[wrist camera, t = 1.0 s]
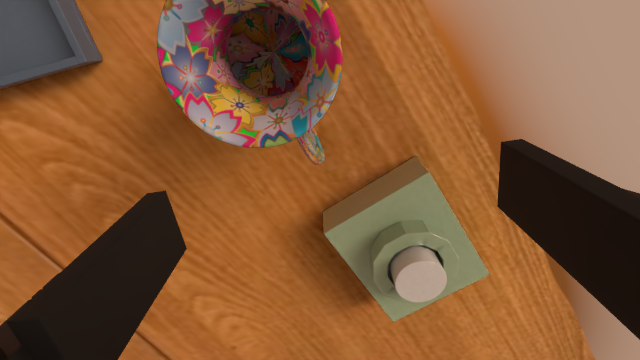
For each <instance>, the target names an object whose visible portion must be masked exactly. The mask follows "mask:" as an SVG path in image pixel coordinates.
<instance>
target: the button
mask: <svg viewBox="0 0 640 360" xmlns="http://www.w3.org/2000/svg"><path fill="white" fill-rule="evenodd" d="M390 272H391V275H392V278H393V282H394V285H395V288H396V291H397V292H398V294H399V295H400V296H401V297H402V298H404V299H405V300H407V301H410V302H426V301H429V300H432V299H434V298H435V297H437V296H438V295H439V294H440V293H441V292H442V291H443V290H444V288H445V286H446V283H447V275H446V272H445V271H444V269H443V267H442V265H441V263H440V261H439V260H438V258H437V256H436V254H435V253H434V252H433V251H432V250H430V249H428V248H426V247H422V246H411V247H408V248H405V249H403V250H401V251H400V252H398V253H397V254H396V255H395V256H394V258H393V259H392V261H391V265H390Z"/></svg>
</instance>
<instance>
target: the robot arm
mask: <svg viewBox="0 0 640 360" xmlns="http://www.w3.org/2000/svg"><path fill="white" fill-rule="evenodd" d="M500 155H501V156H500V172H499V189H498V207H499V208H500V209H501V210H502V211H503V212H504V213H505V214H506V215H507V216H508V217H509V218H510V219H511V220H513V221H514V222H515V223H516V224H517V225H518V226H519V227H520V228H521V229H522V230H523V231H524V232H525V233H526V234H527V235H529V236H530V237H531V238H532V239H533V240H534V241H535V242H536V243H537V244H538V245H539V246H540V247H541V248H542V249H543V250H545V251H546V252H547V253H548V254H549V255H550V256H551V257H552V258H553V259H554V260H555V261H556V262H557V263H558V264H559V265H561V266H562V267H563V268H564V269H565V270H566V271H567V272H568V273H569V274H570V275H571V276H572V277H573V278H575V279H576V280H577V281H578V282H579V283H580V284H581V285H582V286H583V287H584V288H585V289H586V290H587V291H588V292H589V293H591V294H592V295H593V296H594V297H595V298H596V299H597V300H598V301H599V302H600V303H601V304H602V305H603V306H604V307H605V308H606V309H608V310H609V311H610V312H611V313H612V314H613V315H614V316H615V317H616V318H617V319H618V320H619V321H620V322H621V323H622V324H624V325H625V326H626V327H627V328H628V329H629V330H630V331H631V332H632V333H633V334H634V335H636V337H637V338H639V339H640V194H639V193H636V192H632V191H628V190H625V189H622V188H620V187H618V186H616V185H613V184H612V183H610V182H608V181H605V180H604V179H601V178H599V177H597V176H595V175H593V174H591V173H589V172H587V171H585V170H583V169H581V168H579V167H577V166H575V165H573V164H571V163H569V162H567V161H565V160H563V159H561V158H559V157H557V156H555V155H553V154H551V153H549V152H547V151H545V150H543V149H541V148H539V147H537V146H535V145H533V144H531V143H529V142H527V141H525V140H523V139H519V140H513V141H505V142H501V154H500ZM186 249H187V248H186V245H185V243H184V240H183V237H182V234H181V232H180V229H179V226H178V223H177V221H176V218H175V215H174V212H173V209H172V207H171V204H170V201H169V198H168V196H167V193H166V191H161V192H154V193H147V194H146V195H145V196H144V197H143V198H142V199H141V200H140V201H138V202H137V203H136V204H135V205H134V206H133V207H132V208H131V209H130V210H129V211H128V212H126V213H125V214H124V215H123V216H122V217H121V218H120V219H119V220H118V221H117V222H115V223H114V224H113V225H112V226H111V227H110V228H109V229H108V230H107V231H106V232H104V233H103V234H102V235H101V236H100V237H99V238H98V239H97V240H96V241H95V242H94V243H92V244H91V245H90V246H89V247H88V248H87V249H86V250H85V251H84V252H83V253H81V254H80V255H79V256H78V257H77V258H76V259H75V260H74V261H73V262H72V263H71V264H69V265H68V266H67V267H66V268H65V269H64V270H63V271H62V272H60V273H59V274H57V275H56V276H55V277H54V278H53V279H51V280H50V281H49V282H48V283H47V284H46V285H45V286H44V287H43V289H42V290H39V291H38V292H37V293H36V294H35V295H34V296H33V297H32V299H31V300H28V301H27V302H26V303H25V304H24V305H23V306H22V307H21V308H19V309H18V310H17V311H16V312H15V313H14V314H13V315H12V316H11V317H10V318H8V319H7V320H6V321H5V322H4V323H3V324H2V325H1V326H0V360H118V358H119V357H120V355H121V353H122V352H123V350H124V349H125V347H126V345H127V344H128V342H129V340H130V339H131V337H132V336H133V334H134V332H135V331H136V329H137V328H138V326H139V324H140V323H141V321H142V320H143V318H144V316H145V315H146V313H147V312H148V310H149V308H150V307H151V305H152V304H153V302H154V300H155V299H156V297H157V295H158V294H159V292H160V291H161V289H162V287H163V286H164V284H165V283H166V281H167V279H168V278H169V276H170V275H171V273H172V271H173V270H174V268H175V267H176V265H177V263H178V262H179V260H180V259H181V257H182V255H183V254H184V252H185V250H186Z"/></svg>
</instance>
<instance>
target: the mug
mask: <svg viewBox="0 0 640 360" xmlns="http://www.w3.org/2000/svg"><path fill="white" fill-rule="evenodd" d="M157 52H158V59H159V65H160V69H161V73H162V76H163V79H164V81H165V84H166V86H167V88H168V90H169V92H170V94H171V96H172V98H173V99H174V101H175V102H176V104H177V105H178V107H179V108H180V109H181V110H182V112H183V113H184V114H185V115H186V116H187V117H188V118H189V119H190V120H191V121H192V122H193V123H194V124H195V125H196V126H198V127H199V128H200V129H202V130H203V131H204V132H206V133H208V134H209V135H211V136H213V137H215V138H217V139H218V140H221V141H223V142H226V143H229V144H232V145H236V146H240V147H247V148H268V147H274V146H278V145H282V144H285V143H287V142H290V141H292V140H294V139H296V138H297V140H298V142H299V144H300V146H301V147H302V149H303V151H304V152H305V154H306V155H307V157H308V158H309V159H310V161H311V162H312V163H313V164H315V165H318V164H321V163H322V162H324V160H325V154H324V151H323V148H322V145H321V143H320V140H319V138H318V135H317V133H316V131H315V129H314V125H315V124H316V123H317V122H318V121H319V120H320V119H321V118H322V117H323V115H324V114H325V113H326V111H327V110H328V108H329V106H330V105H331V103H332V101H333V99H334V97H335V94H336V92H337V89H338V86H339V82H340V77H341V71H342V44H341V38H340V33H339V29H338V26H337V23H336V20H335V17H334V15H333V13H332V11H331V9H330V7H329V5H328V3H327V1H326V0H166V2H165V4H164V7H163V10H162V13H161V16H160V20H159V25H158V32H157Z"/></svg>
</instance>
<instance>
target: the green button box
mask: <svg viewBox="0 0 640 360" xmlns="http://www.w3.org/2000/svg"><path fill="white" fill-rule="evenodd" d="M323 227H324V235H325V236H326V237H327V239H328V240H329V241H330V242H331V244H332V245H333V246H334V248H335V249H336V250H337V251H338V253H339V254H340V255H341V257H342V258H343V259H344V260H345V262H346V263H347V264H348V265H349V267H350V268H351V269H352V271H353V272H354V273H355V274H356V276H357V277H358V278H359V279H360V281H361V282H362V283H363V285H364V286H365V287H366V288H367V290H368V291H369V292H370V294H371V295H372V296H373V297H374V299H375V300H376V301H377V302H378V304H379V305H380V306H381V308H382V309H383V310H384V311H385V313H386V314H387V315H388V316H389V318H390V319H391V320H392V322H395V321H397V320H399V319H401V318H403V317H405V316H407V315H409V314H411V313H413V312H415V311H417V310H419V309H421V308H423V307H425V306H427V305H429V304H431V303H433V302H435V301H437V300H439V299H442V298H444V297H446V296H448V295H450V294H452V293H454V292H456V291H458V290H460V289H462V288H464V287H466V286H468V285H470V284H472V283H474V282H476V281H478V280H480V279H482V278H484V277H486V276H488V275H490V273H489V272H488V270H487V268H486V266H485V265H484V263H483V261H482V260H481V258H480V256H479V255H478V253H477V251H476V250H475V248H474V246H473V245H472V243H471V241H470V239H469V238H468V236H467V234H466V233H465V231H464V229H463V228H462V226H461V224H460V223H459V221H458V219H457V218H456V216H455V214H454V212H453V211H452V209H451V207H450V206H449V204H448V202H447V201H446V199H445V197H444V196H443V194H442V192H441V191H440V189H439V187H438V186H437V184H436V182H435V180H434V179H433V177H432V175H431V174H430V172H429V171H428V170H427V168H426V167H425V166H424V165H423V164H422V162H421V161H420V160H419V159H418V158H417V156H415V157H413V158H411V159H410V160H408V161H406V162H405V163H403V164H401V165H400V166H398V167H396V168H395V169H393V170H391V171H390V172H388V173H386V174H385V175H383V176H381V177H380V178H378V179H376V180H375V181H373V182H371V183H370V184H368V185H366V186H365V187H363V188H361V189H360V190H358V191H356V192H355V193H353V194H351V195H350V196H348V197H346V198H345V199H343V200H342V201H340V202H338V203H337V204H335V205H333V206H332V207H330V208H328V209H327V210H325V211H323ZM411 246H422V247H426V248H428V249H430V250H432V251H433V252H434V253H435V254H436V256H437V258H438V260H439V261H440V263H441V265H442V267H443V269H444V271H445V272H446V275H447V283H446V286H445V288H444V290H443V291H442V292H441V293H440V294H439V295H438V296H437V297H435V298H434V299H432V300H429V301H426V302H410V301H407V300H405V299H404V298H402V297H401V296H400V295H399V294H398V292H397V291H396V288H395V285H394V282H393V278H392V275H391V272H390V265H391V261H392V259H393V258H394V256H395V255H396V254H397V253H398V252H400V251H401V250H403V249H405V248H408V247H411Z"/></svg>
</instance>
